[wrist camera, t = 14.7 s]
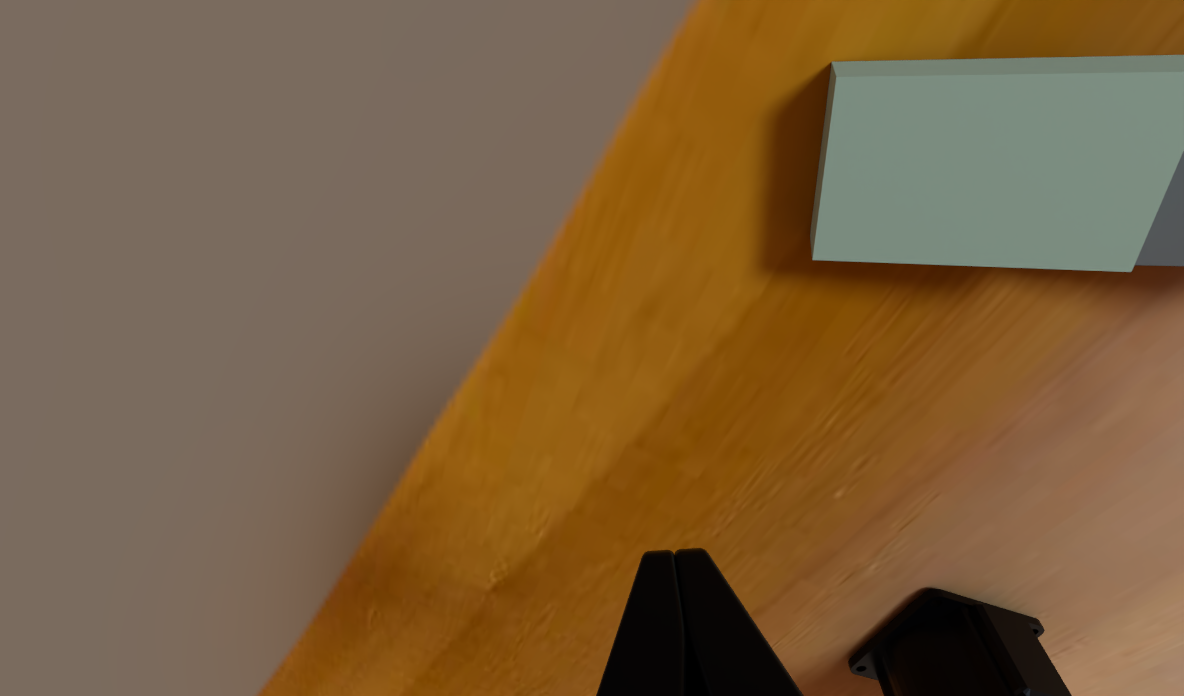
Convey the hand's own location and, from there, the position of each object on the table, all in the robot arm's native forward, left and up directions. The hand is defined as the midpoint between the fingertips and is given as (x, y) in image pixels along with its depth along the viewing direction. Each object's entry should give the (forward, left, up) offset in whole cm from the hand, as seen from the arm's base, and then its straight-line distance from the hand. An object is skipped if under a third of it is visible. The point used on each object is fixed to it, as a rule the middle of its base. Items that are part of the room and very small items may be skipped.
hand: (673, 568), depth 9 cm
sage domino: (+3, -4, -12) cm, 13 cm away
